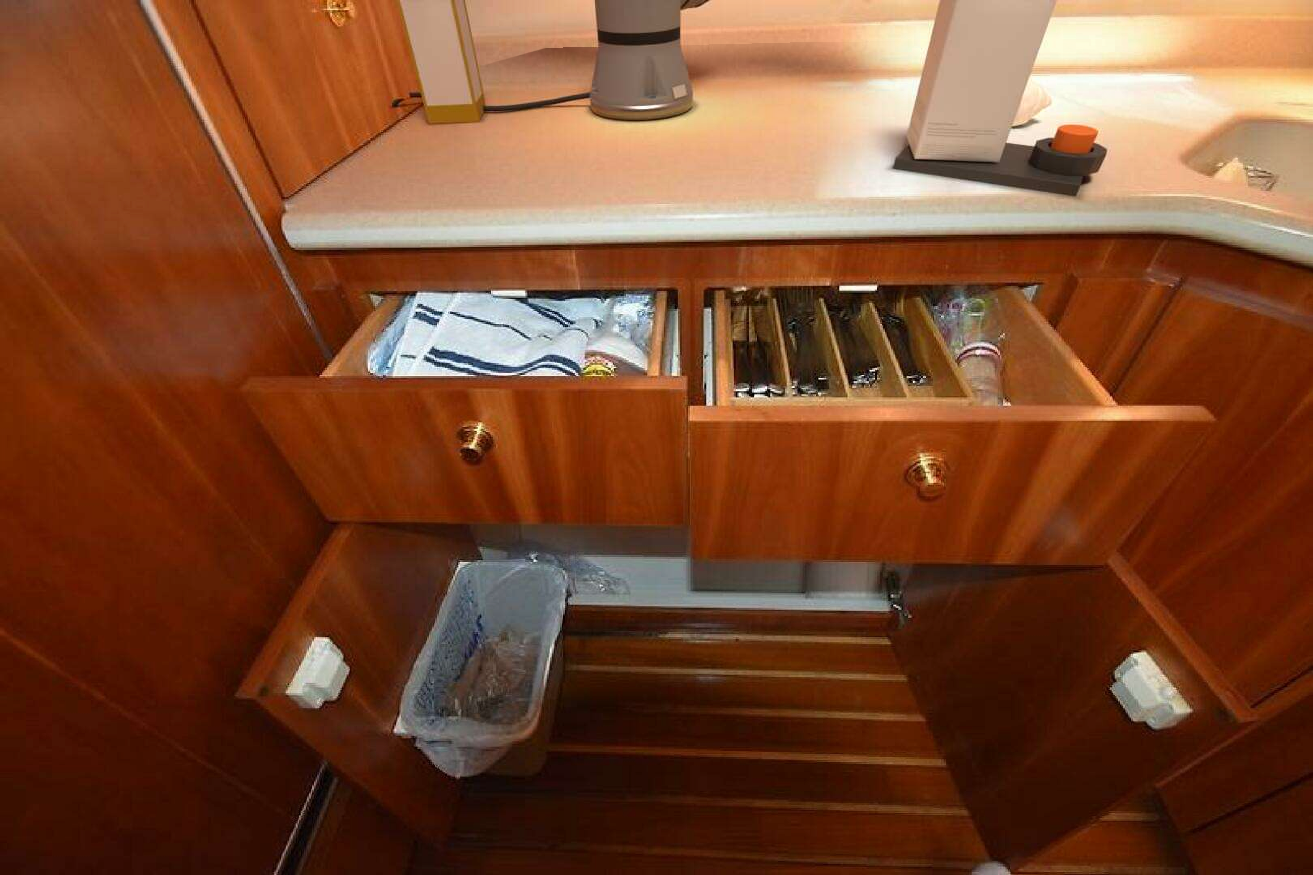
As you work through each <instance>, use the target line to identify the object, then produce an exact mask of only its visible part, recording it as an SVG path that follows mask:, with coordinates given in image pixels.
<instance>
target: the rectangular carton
mask: <svg viewBox="0 0 1313 875" xmlns="http://www.w3.org/2000/svg"><path fill="white" fill-rule="evenodd" d="M1057 1H1058V0H939V2H938V6H937V10H936V14H935V18H934V21H933V22H934V23H933V26H932V31H931V36H930V38H929V43H928V47H927V50H926V56H925V59H924V64H923V67H922V71H921V75H920V76H921V77H920V80H919V83H918V84H919V85H918V88H917V93H916V97H915V99H914V100H915V101H914V104H913V109H912V113H911V117H910V121H909V125H908V129H907V132H906V138H907V142H908V144H909V145H910V147H911V150H912V153H913V156H914V158H915V159H931V160H954V161H977V162H994V163H998V162H999V161H1000V159H1001V156H1002V153H1003V150H1004V147H1005V144H1006V143H1007V142H1008V139H1009V136H1010V133H1011V130H1012V128H1013V126H1012V124H1013V122H1014V119H1015V116H1016V113H1017V110H1018V107H1019V105H1020V102H1021V99H1022V96H1023V93H1024V91H1025V88H1026V85H1027V82H1028V79H1029V78H1030V76H1031V73H1032V71H1033V68H1034V65H1035V62H1036V59H1037V57H1038V54H1039V52H1040V49H1041V46H1042V43H1043V40H1044V38H1045V34H1046V32H1047V28H1048V26H1049V23H1050V20H1051V17H1052V14H1053V12H1054V10H1055V6H1056V4H1057Z"/></svg>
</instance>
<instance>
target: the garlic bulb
mask: <svg viewBox="0 0 1313 875" xmlns="http://www.w3.org/2000/svg"><path fill="white" fill-rule="evenodd" d="M1052 103H1053V100H1052V98H1051V96H1050V95H1049V94H1048V93H1047V91H1045V89H1044V87H1042V86H1041V84H1040V83H1038V82H1037V81H1035V80H1033V79H1032V78H1030V77H1029V79H1028V82H1027V85H1026V88H1025V91H1024V93H1023V96H1022V99H1021V102H1020V105H1019V107H1018V110H1017V113H1016V116H1015V119H1014V122H1013V124H1012V127H1017V126H1021V125H1024V124H1026V123H1027V122H1029V121H1030V120H1031V119H1032V118H1034V117H1035V116H1037V115H1038V114H1040V112H1041V111H1042V110H1045V109H1047V108H1048V107H1051V105H1052Z"/></svg>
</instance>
